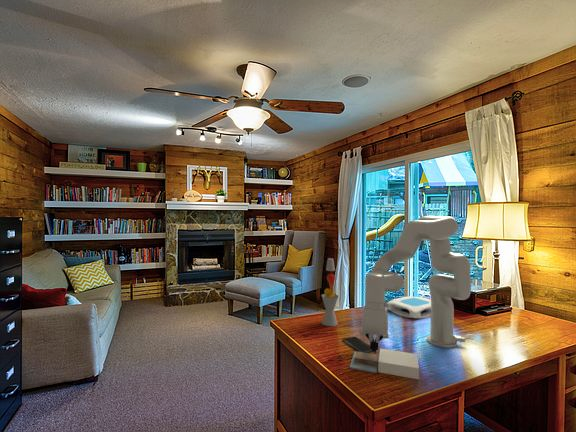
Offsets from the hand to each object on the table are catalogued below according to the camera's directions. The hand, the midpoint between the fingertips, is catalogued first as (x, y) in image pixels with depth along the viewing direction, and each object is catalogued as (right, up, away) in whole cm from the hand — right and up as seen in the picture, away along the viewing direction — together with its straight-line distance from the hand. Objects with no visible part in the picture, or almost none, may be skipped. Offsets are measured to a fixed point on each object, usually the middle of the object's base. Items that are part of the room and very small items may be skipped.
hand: (374, 351), depth 121 cm
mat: (-3, -5, +1) cm, 6 cm away
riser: (+8, -5, -3) cm, 10 cm away
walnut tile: (-3, -5, +1) cm, 5 cm away
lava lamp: (-12, -5, +45) cm, 46 cm away
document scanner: (+44, -6, +67) cm, 80 cm away
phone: (-2, -6, +17) cm, 18 cm away
